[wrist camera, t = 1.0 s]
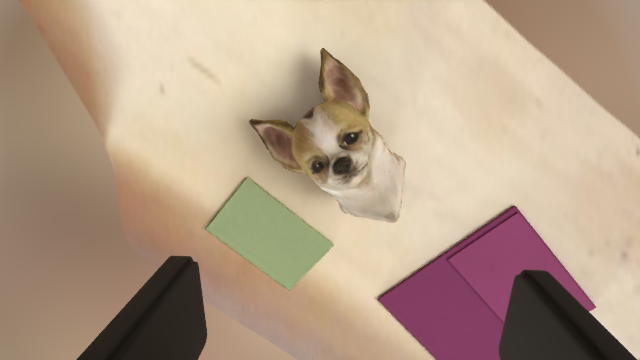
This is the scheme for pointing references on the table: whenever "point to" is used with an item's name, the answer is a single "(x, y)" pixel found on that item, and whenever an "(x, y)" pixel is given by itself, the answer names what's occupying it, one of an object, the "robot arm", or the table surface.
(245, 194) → the sage cloth
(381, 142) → the ceramic sculpture
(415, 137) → the table surface
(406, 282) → the plum cloth
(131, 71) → the table surface
